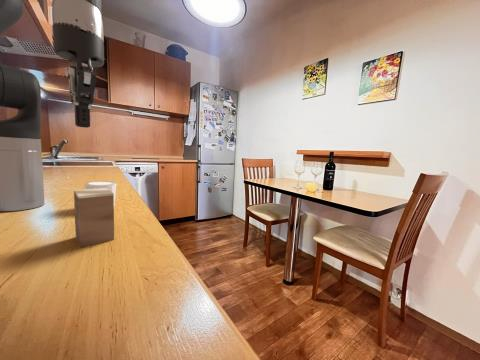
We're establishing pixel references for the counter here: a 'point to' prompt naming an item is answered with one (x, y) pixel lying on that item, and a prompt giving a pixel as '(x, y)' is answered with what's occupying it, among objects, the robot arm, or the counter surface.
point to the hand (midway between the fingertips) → (82, 127)
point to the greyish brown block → (94, 216)
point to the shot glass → (102, 186)
